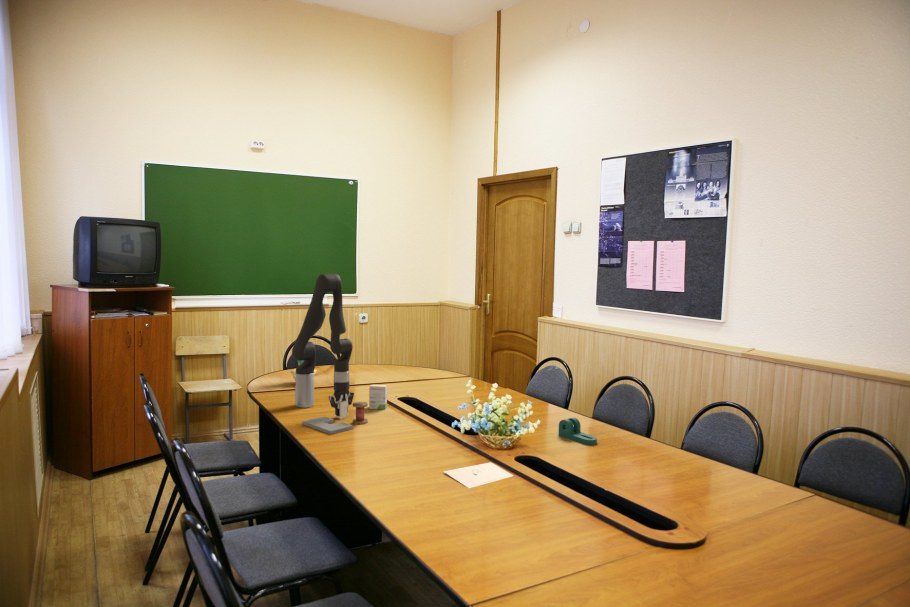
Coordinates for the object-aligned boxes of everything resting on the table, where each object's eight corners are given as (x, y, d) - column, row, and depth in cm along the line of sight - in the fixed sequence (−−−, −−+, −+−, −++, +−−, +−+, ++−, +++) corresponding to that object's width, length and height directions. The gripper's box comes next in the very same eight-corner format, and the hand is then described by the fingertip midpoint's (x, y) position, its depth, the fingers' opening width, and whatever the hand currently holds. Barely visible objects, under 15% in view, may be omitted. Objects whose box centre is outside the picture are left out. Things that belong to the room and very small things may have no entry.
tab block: (335, 417, 290) (335, 401, 289) (342, 415, 293) (342, 399, 292) (340, 418, 287) (340, 402, 286) (347, 417, 290) (347, 401, 289)
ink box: (368, 409, 306) (368, 386, 305) (371, 406, 311) (371, 384, 310) (385, 409, 305) (385, 386, 304) (387, 407, 310) (387, 384, 309)
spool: (349, 422, 282) (349, 403, 281) (361, 419, 287) (361, 400, 286) (358, 425, 277) (358, 406, 276) (370, 422, 282) (370, 403, 281)
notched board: (302, 424, 277) (302, 421, 277) (324, 419, 286) (324, 416, 286) (331, 434, 262) (331, 431, 262) (352, 428, 271) (352, 425, 271)
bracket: (558, 435, 267) (558, 418, 266) (568, 433, 271) (569, 416, 270) (589, 446, 253) (590, 428, 252) (600, 443, 257) (600, 425, 256)
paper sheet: (496, 463, 231) (496, 460, 231) (538, 493, 205) (539, 490, 205) (441, 471, 220) (441, 469, 220) (478, 504, 194) (478, 501, 194)
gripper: (348, 376, 296) (348, 410, 298) (324, 381, 286) (324, 416, 287) (358, 379, 291) (358, 413, 293) (334, 383, 281) (334, 419, 282)
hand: (341, 414), depth 290 cm, fingers closed on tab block, 4 cm apart
